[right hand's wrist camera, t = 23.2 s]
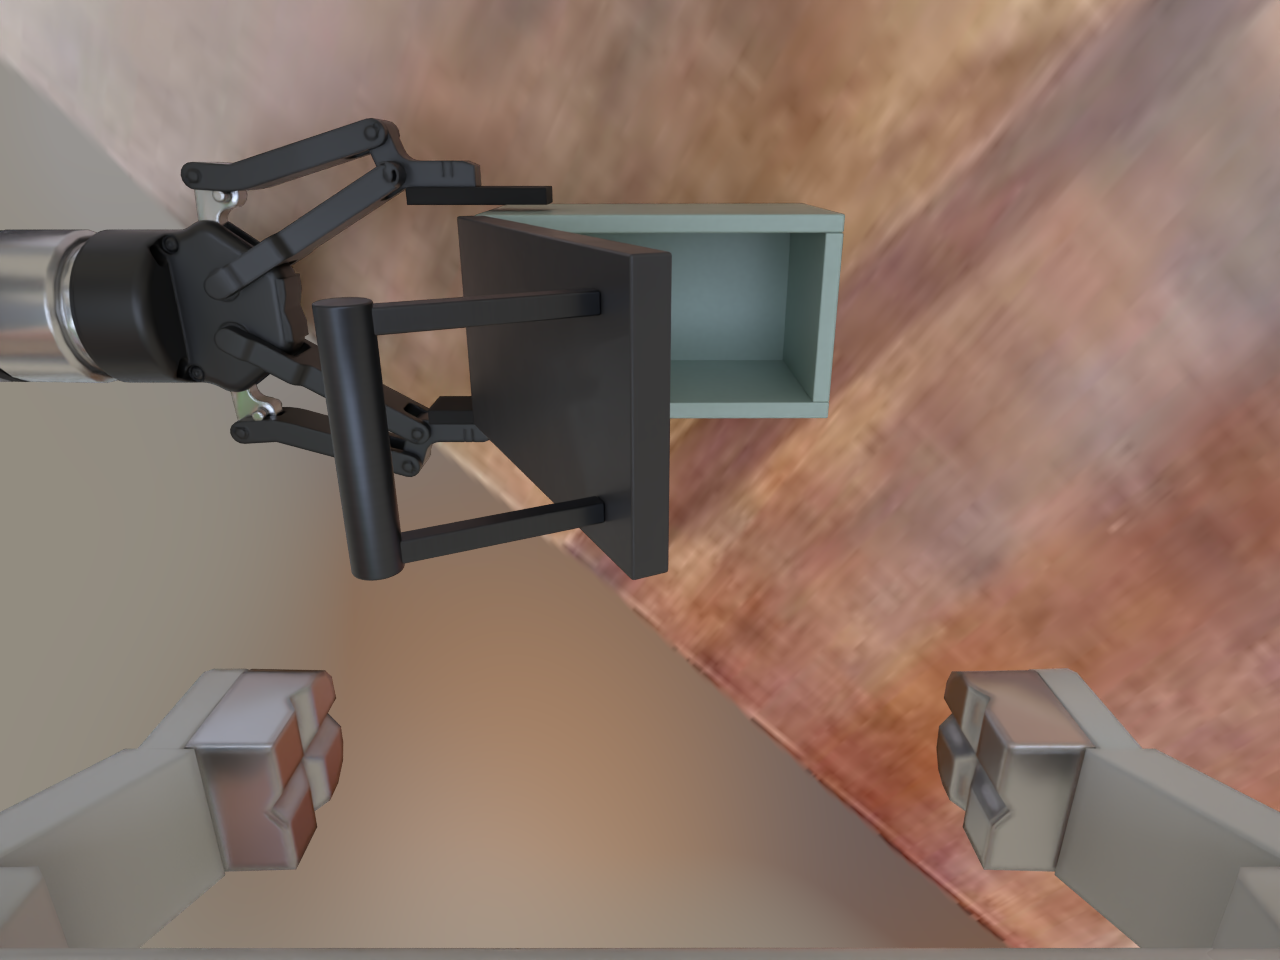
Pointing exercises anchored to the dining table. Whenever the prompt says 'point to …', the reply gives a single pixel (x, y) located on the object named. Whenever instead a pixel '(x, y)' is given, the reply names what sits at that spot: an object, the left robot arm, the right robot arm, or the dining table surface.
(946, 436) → the dining table surface
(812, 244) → the chest
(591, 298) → the lid
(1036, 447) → the dining table surface
